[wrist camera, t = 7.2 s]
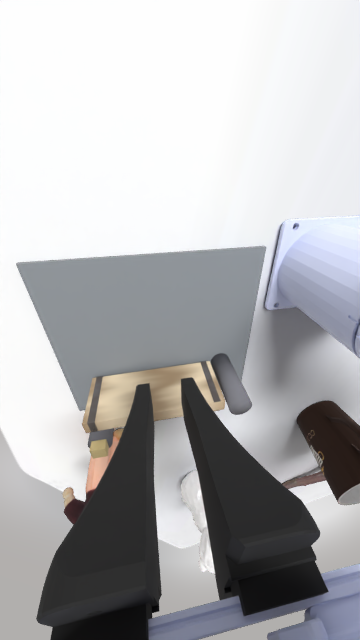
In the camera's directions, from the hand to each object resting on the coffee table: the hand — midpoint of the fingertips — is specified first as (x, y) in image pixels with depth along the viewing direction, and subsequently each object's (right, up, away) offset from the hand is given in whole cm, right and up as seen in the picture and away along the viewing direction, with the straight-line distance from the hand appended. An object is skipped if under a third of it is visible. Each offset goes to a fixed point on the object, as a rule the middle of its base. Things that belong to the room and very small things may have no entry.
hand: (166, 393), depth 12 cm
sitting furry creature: (+5, -24, +28) cm, 37 cm away
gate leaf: (-2, -2, +11) cm, 11 cm away
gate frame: (-1, +2, +10) cm, 10 cm away
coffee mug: (+22, -9, +22) cm, 32 cm away
